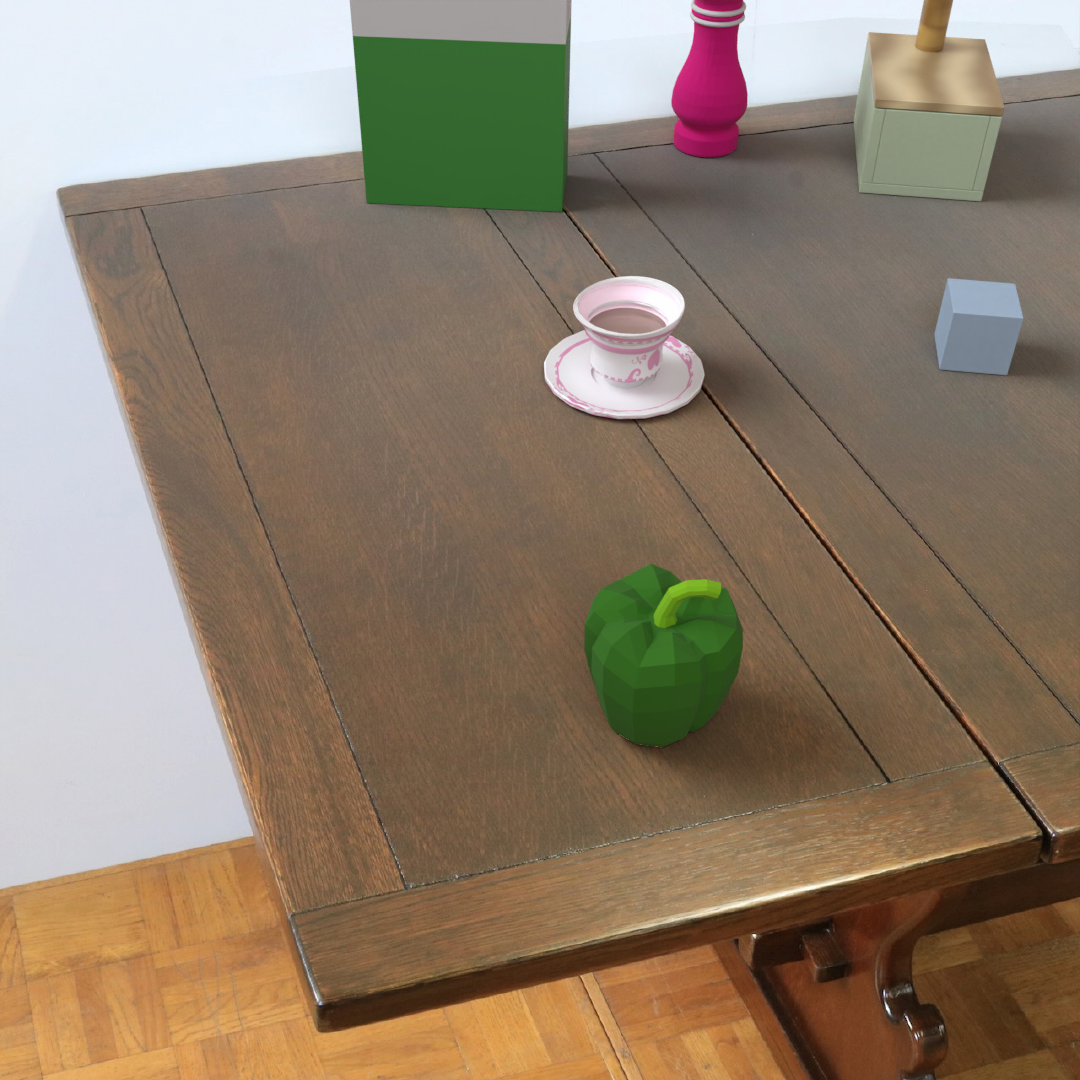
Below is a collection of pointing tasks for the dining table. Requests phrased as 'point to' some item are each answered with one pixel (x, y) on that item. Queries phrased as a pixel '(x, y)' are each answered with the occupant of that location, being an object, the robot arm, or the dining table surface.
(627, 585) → the bell pepper
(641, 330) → the teacup
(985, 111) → the wooden box lid
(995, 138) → the box
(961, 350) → the block
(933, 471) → the dining table surface
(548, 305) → the dining table surface
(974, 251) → the dining table surface
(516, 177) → the hardback book
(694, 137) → the pepper mill
